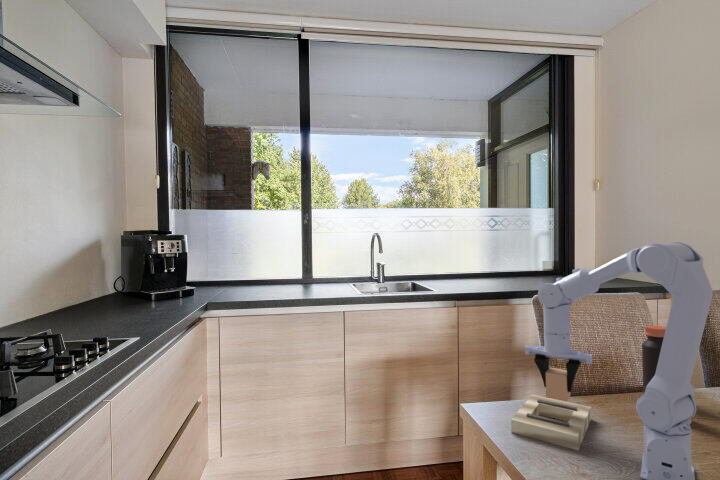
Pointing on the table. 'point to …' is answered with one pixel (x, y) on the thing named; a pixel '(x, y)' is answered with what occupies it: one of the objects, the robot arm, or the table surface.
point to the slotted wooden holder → (552, 421)
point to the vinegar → (651, 352)
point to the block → (557, 384)
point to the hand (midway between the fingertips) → (558, 388)
